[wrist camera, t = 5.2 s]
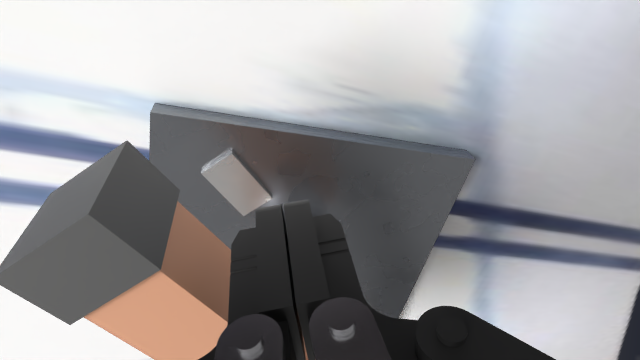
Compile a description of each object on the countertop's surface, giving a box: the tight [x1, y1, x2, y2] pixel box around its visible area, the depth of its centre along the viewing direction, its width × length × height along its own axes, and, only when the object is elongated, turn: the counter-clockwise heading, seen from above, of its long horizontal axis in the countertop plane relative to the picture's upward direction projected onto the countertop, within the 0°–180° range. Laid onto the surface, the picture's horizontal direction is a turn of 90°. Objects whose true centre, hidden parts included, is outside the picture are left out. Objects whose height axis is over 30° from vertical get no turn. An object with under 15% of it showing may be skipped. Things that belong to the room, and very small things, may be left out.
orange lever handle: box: [0, 141, 308, 360], centre depth 14 cm, size 15×6×4 cm, turn 32°
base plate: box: [149, 103, 475, 318], centre depth 21 cm, size 16×14×7 cm
